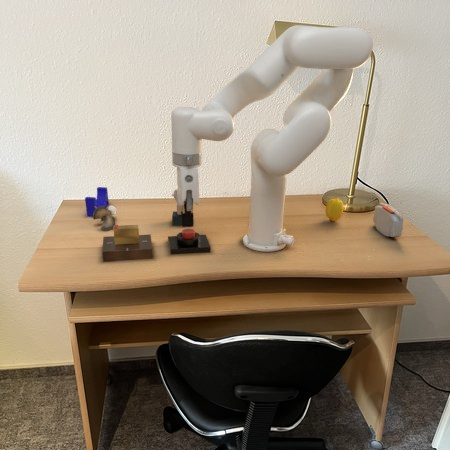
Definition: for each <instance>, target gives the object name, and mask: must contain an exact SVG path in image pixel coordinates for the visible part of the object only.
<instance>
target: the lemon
mask: <svg viewBox="0 0 450 450" xmlns="http://www.w3.org/2000/svg"><path fill="white" fill-rule="evenodd" d="M325 215H326V217H327V218H328V219H329V220H331V221H332V222H335V221H338V220H339V219H340V218H341V217H342V216H343V215H344V203H343V201H342V200H341V199H340V198H339V197H337V196H335V197H334V198H331V199H329V200H328V202H327V203H326V207H325Z"/></svg>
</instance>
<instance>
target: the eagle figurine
mask: <svg viewBox="0 0 450 450" xmlns="http://www.w3.org/2000/svg"><path fill="white" fill-rule="evenodd" d="M94 207H95V208H96V209H95V210H94V213H93V217H92V219H93V221H94V220H98V222H97V225H98V226H99V225H101V224H102V225H101V227H100V230H101V231H104V232H105V231H106V232H107V231H110V230H112V229H113V228H114V225H116V218H115V215H116V214H117V208H116V206H114V205H112V204H111V205H110V204H109V205H108V206H107V209H106V207H105V206H104V207H103V206H102V207H100V206H99V207H96V206H94Z"/></svg>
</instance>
